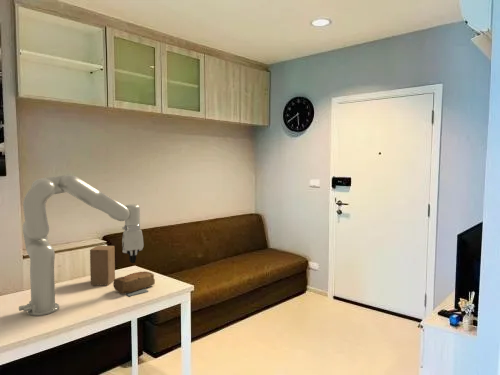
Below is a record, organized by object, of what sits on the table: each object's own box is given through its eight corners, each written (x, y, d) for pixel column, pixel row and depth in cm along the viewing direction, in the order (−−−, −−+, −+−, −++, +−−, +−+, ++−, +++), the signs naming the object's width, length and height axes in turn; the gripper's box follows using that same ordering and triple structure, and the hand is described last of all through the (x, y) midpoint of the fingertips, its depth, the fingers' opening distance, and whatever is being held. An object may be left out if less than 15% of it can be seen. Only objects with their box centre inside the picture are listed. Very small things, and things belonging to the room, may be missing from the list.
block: (124, 295, 184) (156, 285, 200) (123, 280, 184) (156, 272, 200) (112, 291, 191) (144, 282, 207) (111, 276, 191) (144, 269, 207)
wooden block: (108, 285, 200) (107, 249, 199) (90, 285, 200) (89, 249, 199) (115, 279, 210) (114, 245, 209) (98, 279, 210) (97, 245, 209)
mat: (129, 296, 185) (129, 295, 184) (117, 289, 195) (117, 288, 195) (148, 291, 192) (148, 290, 192) (136, 285, 202) (136, 284, 202)
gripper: (121, 230, 183) (122, 266, 184) (149, 227, 193) (149, 261, 195) (115, 228, 188) (115, 263, 190) (142, 225, 199) (142, 258, 200)
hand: (132, 262), depth 192 cm, fingers closed
